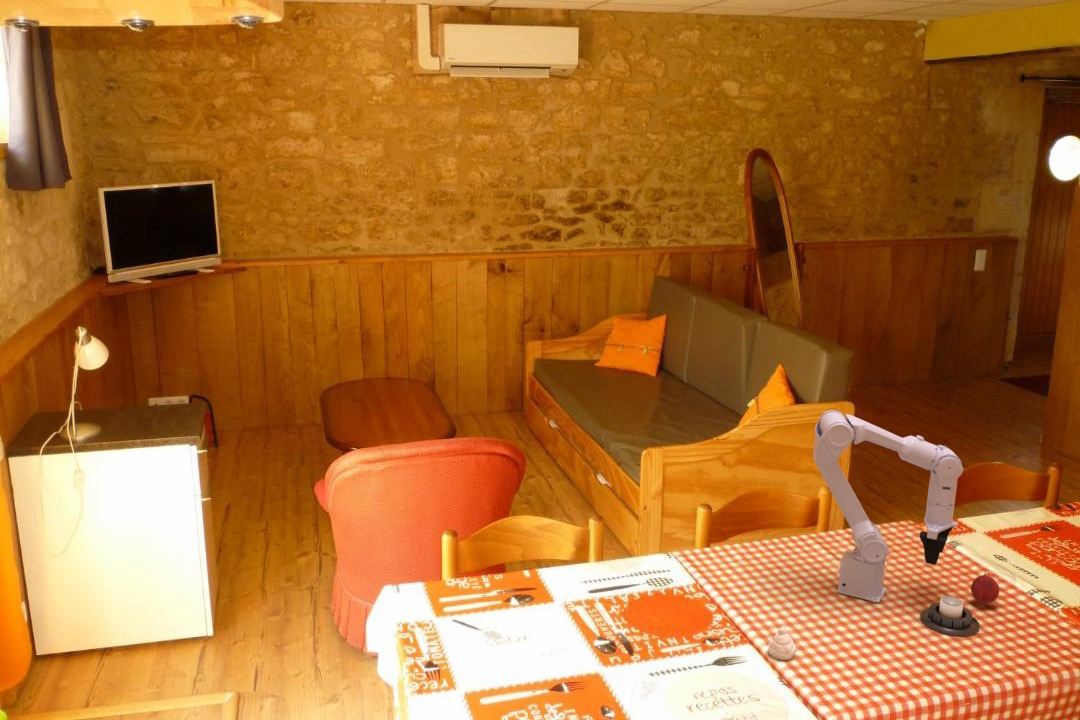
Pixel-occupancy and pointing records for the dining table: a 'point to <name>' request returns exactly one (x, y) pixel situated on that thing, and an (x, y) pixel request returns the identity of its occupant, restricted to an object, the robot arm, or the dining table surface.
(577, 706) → the dining table surface
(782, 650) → the swirled meringue
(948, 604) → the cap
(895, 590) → the dining table surface
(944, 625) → the ridged round lid
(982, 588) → the onion
